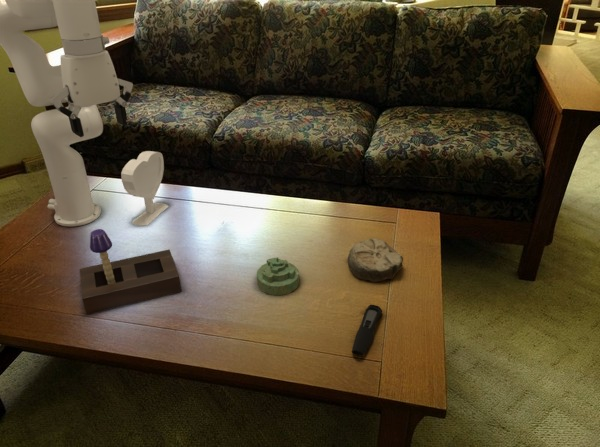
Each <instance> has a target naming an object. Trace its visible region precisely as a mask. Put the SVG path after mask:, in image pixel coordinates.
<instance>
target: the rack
mask: <svg viewBox="0 0 600 447" xmlns="http://www.w3.org/2000/svg"><path fill="white" fill-rule="evenodd" d="M110 264H111V266H112V268H111V269H112V270H113V275H114V280H115V281H116V283H114V284H109V285H108V283H107V282H108V281H107V279H106V275H105V270H104V269H103V264H102V263H100V264H96V265H90V266H86V267H85V266H84V267H80V268H79V277H80V278H79V279H80V288H81V289H80V290H81V299H82V302H83V307H84V309H85V314H86V315H90V314H95V313H99V312H103V311H107V310H111V309H112V310H113V309H116V308H120V307H123V306H128V305H131V304H137V303H140V302H145V301H148V300H152V299H156V298H160V297H165V296H169V295H173V294H177V293H181V292H182V285H181V284H182V283H181V277H180V274H179V271H178V269H177V266H176V263H175V260H174V257H173V255H172V252H171V249H164V250H160V251H155V252H151V253H146V254H141V255H136V256H133V257H128V258H122V259H118V260H113V261H110Z"/></svg>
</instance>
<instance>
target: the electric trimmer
mask: <svg viewBox="0 0 600 447" xmlns="http://www.w3.org/2000/svg"><path fill="white" fill-rule="evenodd" d="M382 316H383V310H382V308H381V306H379V305H376V304H369V305H368V306H367V308H365V311H364V314H363V317H362V320H361V323H360V325H359V328H358V330H356V334H355V338H354V341H353V344H352V348H351V353H352V354H354V355H357V356H361V357H363V356H364V355H365V354H366V352H367V351H368V349H369V347H370V345H371V343H372V342H373V341H374V337H375V328H376V326H377V324H378V321H379V318H380V317H382Z"/></svg>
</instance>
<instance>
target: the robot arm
mask: <svg viewBox="0 0 600 447" xmlns="http://www.w3.org/2000/svg"><path fill="white" fill-rule="evenodd" d="M99 19H100V18H99V14H98V8H97V4H96V0H0V47H1V48H2V49H3V50H4V52H5V53H6V55H7V57H8V59H9V61H10V63H11V66H12V67H13V70H14V73H15V76H16V78H17V80H18V83H19V85H20V87H21V90H22V92H23V95H24V97H25V99H26V101H27V102H28V104H30V105H31V106H33V107H36V108H43V107H49V106H53V107H55V108H54V109H49V110H44V111H42V112H39V113H37V114H36V115H34V117H32V119H31V124H30V126H31V127H30V128H31V131H32V133H33V136H34V138H35V140H36V143H37V144H38V146H39V150H40V152H41V155H42V157H43V160H44V163H45V167H46V171H47V174H48V178H49V181H50V185H51V189H52V193H53V195H54V198H50V199H48V204H47V206H46V207H47V209H48V210H54V211H55V214H54V216H53V218H54V221H55V223H56V224H57V225H60V226H62V227H80V226H83V225H87V224H90V223H92V222H94V221H95V220H97V219H98V218H99V217H100V216H101V212H102V210H101V207H100V205H98V204H96V203H94V200H93V196H92V191H91V188H90V184H89V179H88V175H87V169H86V166H85V162H84V158H83V156H82V155H81V154H80V153H79V152H78V150H76V149H74V148H73V147H71V146H70V145H73V144H76V143H79V142H82V141H83V142H84V141H87V140H91V139H95V138H97V137H99V136H101V135H102V134H103V132H104V123H103V120H102V115H101V113H100V110H99V109H98V105H102V104H106V103H110V102H114V103H115V104H114V114H115V118H116V123H118V124H119V125H122V126H124V127H125V126H127V125H128V123H127V120H128V115H127V110H126V107H127V105H128V102H129V100H130V99H131V96H132V91H133V88H134V84H133V82H131V81H128V80H124V79H122V78H118V75H117V73H116V70H115V66H114V63H113V60H112V58H111V56H110V53H109V51H108V50H106V45H109V44H110V37H109V36H104V35H103V34H102V31H101V24H100V20H99ZM52 28H58V32H59V36H60V40H61V43H62V44H61V45H62V49H63V52H64V54H62V55H60V64H59V65H51V63H50V62H49V59H48V57H47V54H46V51H45V49H44V48H43V47H42V46H41V45H40V44H39V43H38V42H37V41H36V40H34V39H33V38H32V37H30V36H29V35H26V34H25V33H24V32H23V31H34V30H43V29H52ZM120 86H121V87H123V90H122V92H121V89H120ZM64 103H68V106H64Z"/></svg>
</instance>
